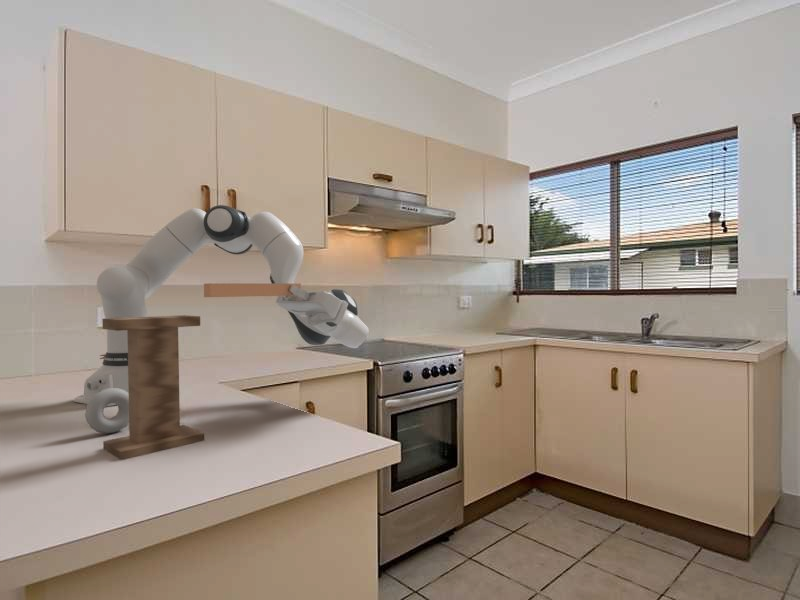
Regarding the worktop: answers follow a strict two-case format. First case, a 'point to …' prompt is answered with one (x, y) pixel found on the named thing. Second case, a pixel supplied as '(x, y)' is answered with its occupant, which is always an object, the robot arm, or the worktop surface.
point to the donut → (97, 407)
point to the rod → (247, 289)
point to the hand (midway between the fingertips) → (284, 287)
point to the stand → (152, 386)
